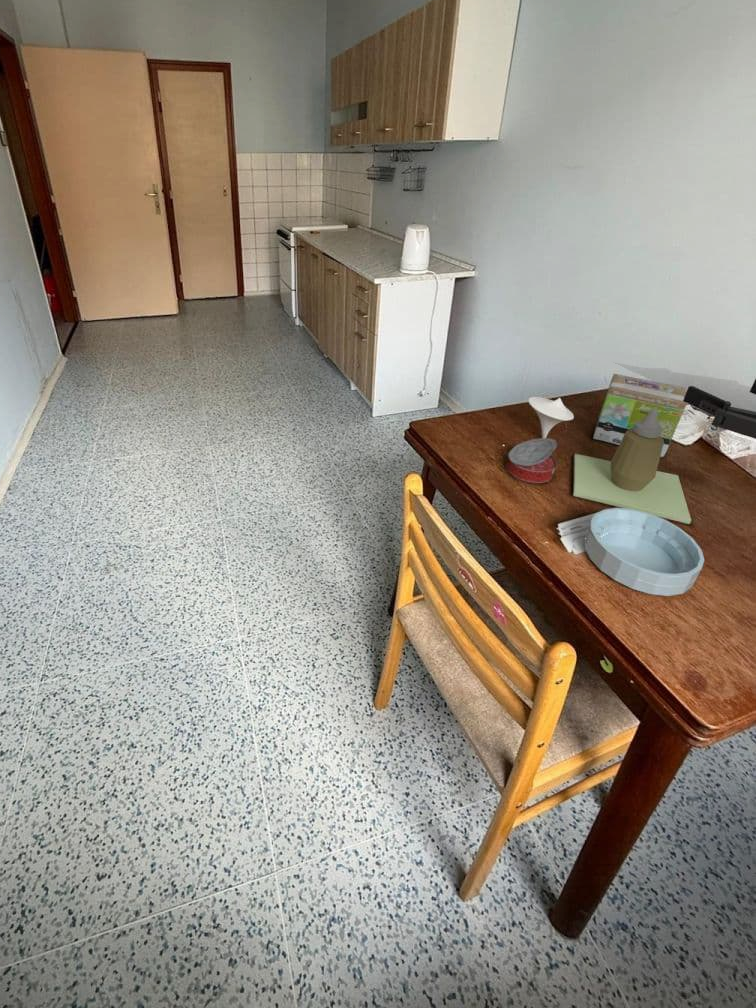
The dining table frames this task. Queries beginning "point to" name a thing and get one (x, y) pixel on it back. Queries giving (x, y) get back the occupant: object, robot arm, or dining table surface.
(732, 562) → the dining table surface
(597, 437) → the tea box
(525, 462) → the canned food
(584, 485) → the mat
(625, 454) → the squeeze bottle
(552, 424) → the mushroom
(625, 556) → the bowl
